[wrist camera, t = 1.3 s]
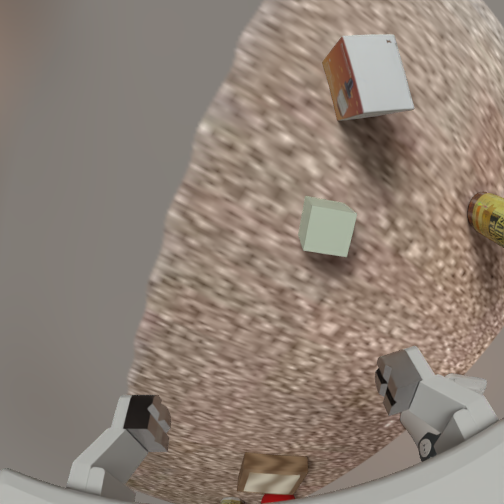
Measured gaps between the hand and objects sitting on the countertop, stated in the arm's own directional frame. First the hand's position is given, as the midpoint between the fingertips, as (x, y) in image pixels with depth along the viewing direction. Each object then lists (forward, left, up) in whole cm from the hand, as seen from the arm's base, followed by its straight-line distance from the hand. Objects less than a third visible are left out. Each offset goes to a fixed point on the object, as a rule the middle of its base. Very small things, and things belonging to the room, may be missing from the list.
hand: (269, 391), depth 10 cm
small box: (-8, -17, -29) cm, 35 cm away
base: (-11, +59, -29) cm, 66 cm away
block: (-7, 0, -29) cm, 30 cm away
